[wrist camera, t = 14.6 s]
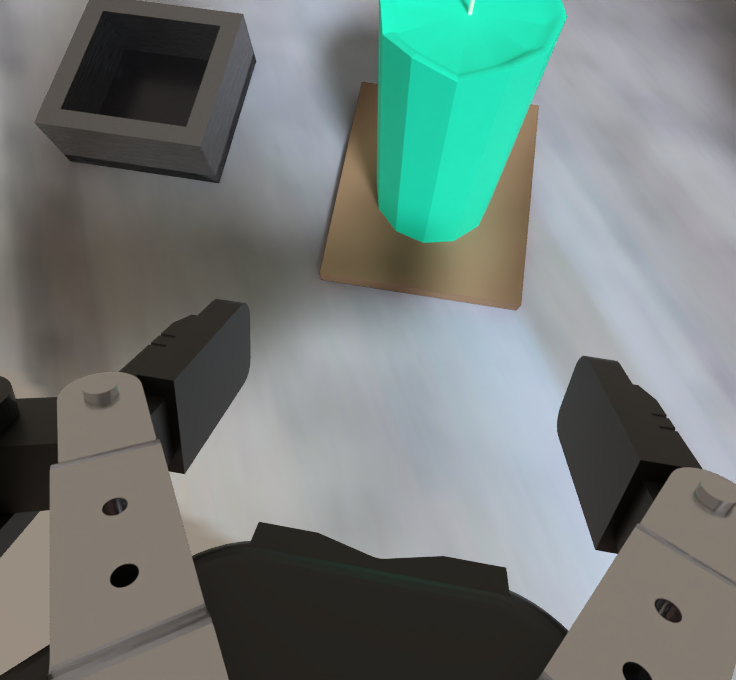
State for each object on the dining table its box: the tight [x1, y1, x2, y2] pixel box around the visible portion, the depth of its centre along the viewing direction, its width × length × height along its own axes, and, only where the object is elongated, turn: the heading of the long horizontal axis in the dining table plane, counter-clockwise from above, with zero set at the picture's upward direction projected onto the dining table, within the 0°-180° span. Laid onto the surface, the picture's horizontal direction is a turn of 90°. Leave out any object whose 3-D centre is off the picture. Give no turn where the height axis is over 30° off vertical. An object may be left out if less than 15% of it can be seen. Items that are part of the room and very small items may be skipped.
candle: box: [377, 0, 567, 243], centre depth 19 cm, size 6×6×12 cm
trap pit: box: [34, 0, 256, 183], centre depth 26 cm, size 9×9×3 cm
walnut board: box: [320, 82, 539, 310], centre depth 26 cm, size 10×12×1 cm
